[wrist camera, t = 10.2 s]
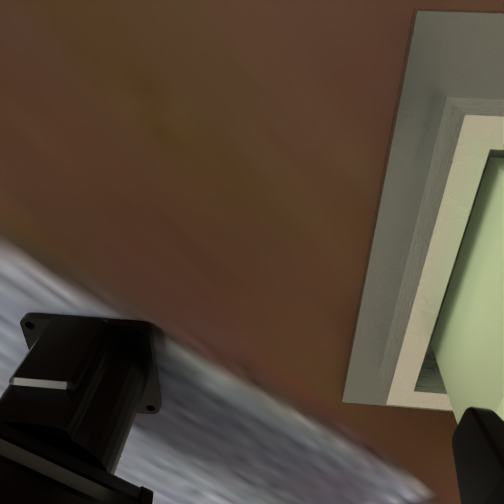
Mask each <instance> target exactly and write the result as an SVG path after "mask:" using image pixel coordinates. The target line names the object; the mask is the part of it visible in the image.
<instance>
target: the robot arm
mask: <svg viewBox="0 0 504 504" xmlns="http://www.w3.org/2000/svg"><path fill="white" fill-rule="evenodd" d="M31 322H32V323H31ZM20 325H21V328H22V331H23V334H24V337H25V340H26V343H27V346H28V349H29V352H28V353H27V355H26V356H25V358H24V359H23V360H22V362H21V363H20V365H19V366H18V368H17V369H16V371H15V372H14V374H13V375H12V376H11V378H10V380H9V382H10V384H9V386H8V387H7V389H6V390H5V392H4V393H3V395H2V396H1V398H0V504H152V501H153V491H151V490H149V489H147V488H145V487H143V486H142V487H138V486H136V485H134V484H132V483H129V482H127V481H125V480H123V479H121V478H119V477H117V476H115V475H114V473H115V471H116V468H117V465H118V462H119V460H120V457H121V454H122V451H123V449H124V446H125V443H126V440H127V437H128V435H129V432H130V429H131V426H132V424H133V421H134V418H135V415H136V413H146V414H156V413H158V412H159V410H160V407H161V396H160V388H159V381H158V373H157V366H156V358H155V351H154V343H153V336H152V329H151V326H150V325H149V324H147V323H146V322H143V321H133V320H121V319H108V318H95V317H82V316H69V315H56V314H43V313H27V314H25V316H24V317H23V318H22V320H21V321H20ZM138 330H139V331H142V332H143V333H142V332H139V331H138ZM452 448H453V455H454V461H455V468H456V474H457V481H458V487H459V494H460V500H461V504H504V421H503V420H502V419H501V418H500V417H499V415H498V414H497V413H495V412H494V411H493V410H491V409H488V408H480V407H468V408H467V409H466V410H465V411H464V413H463V415H462V417H461V419H460V421H459V423H458V425H457V427H456V429H455V431H454V434H453V437H452Z"/></svg>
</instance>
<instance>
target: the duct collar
mask: <svg viewBox="0 0 504 504" xmlns="http://www.w3.org/2000/svg"><path fill="white" fill-rule="evenodd" d="M489 157H493V158H504V12H486V11H454V10H421V9H414V12H413V17H412V23H411V28H410V33H409V39H408V44H407V49H406V54H405V60H404V65H403V70H402V76H401V81H400V86H399V92H398V97H397V102H396V107H395V113H394V118H393V123H392V129H391V134H390V139H389V145H388V150H387V155H386V161H385V166H384V171H383V176H382V182H381V187H380V192H379V198H378V203H377V208H376V214H375V219H374V224H373V230H372V235H371V240H370V245H369V251H368V256H367V261H366V267H365V272H364V277H363V283H362V288H361V293H360V298H359V304H358V309H357V314H356V320H355V325H354V330H353V336H352V341H351V346H350V352H349V357H348V362H347V367H346V373H345V378H344V383H343V389H342V394H341V395H342V402H348V403H360V404H371V405H383V406H394V407H406V408H417V409H429V410H440V411H452V412H453V409H452V406H451V403H450V400H449V397H448V394H447V391H446V388H445V385H444V382H443V379H442V376H441V373H440V370H439V367H438V364H437V361H436V358H435V355H434V352H433V349H432V346H431V342H432V338H433V335H434V332H435V329H436V326H437V323H438V319H439V316H440V313H441V310H442V307H443V303H444V300H445V297H446V294H447V291H448V288H449V284H450V281H451V278H452V275H453V272H454V269H455V265H456V262H457V259H458V256H459V253H460V250H461V246H462V243H463V240H464V237H465V234H466V230H467V227H468V224H469V221H470V218H471V215H472V211H473V208H474V205H475V202H476V199H477V196H478V192H479V189H480V186H481V183H482V180H483V177H484V173H485V170H486V167H487V164H488V161H489Z"/></svg>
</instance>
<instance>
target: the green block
mask: <svg viewBox="0 0 504 504" xmlns="http://www.w3.org/2000/svg"><path fill="white" fill-rule="evenodd" d="M431 346H432V349H433V352H434V355H435V358H436V361H437V364H438V367H439V370H440V373H441V376H442V379H443V382H444V385H445V388H446V391H447V394H448V397H449V400H450V403H451V406H452V409H453V412H454V415H455V418H456V421H457V424H458V423H459V421H460V419H461V417H462V415H463V413H464V411H465V410H466V409H467V408H468V407H480V408H488V409H491V410H493V411H494V412H495V413H497V414H498V415H499V417H500V418H501V419H502V420H503V421H504V158H493V157H489V161H488V164H487V167H486V170H485V173H484V177H483V180H482V183H481V186H480V189H479V192H478V196H477V199H476V202H475V205H474V208H473V211H472V215H471V218H470V221H469V224H468V227H467V230H466V234H465V237H464V240H463V243H462V246H461V250H460V253H459V256H458V259H457V262H456V265H455V269H454V272H453V275H452V278H451V281H450V284H449V288H448V291H447V294H446V297H445V300H444V303H443V307H442V310H441V313H440V316H439V319H438V323H437V326H436V329H435V332H434V335H433V338H432V342H431Z"/></svg>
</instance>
